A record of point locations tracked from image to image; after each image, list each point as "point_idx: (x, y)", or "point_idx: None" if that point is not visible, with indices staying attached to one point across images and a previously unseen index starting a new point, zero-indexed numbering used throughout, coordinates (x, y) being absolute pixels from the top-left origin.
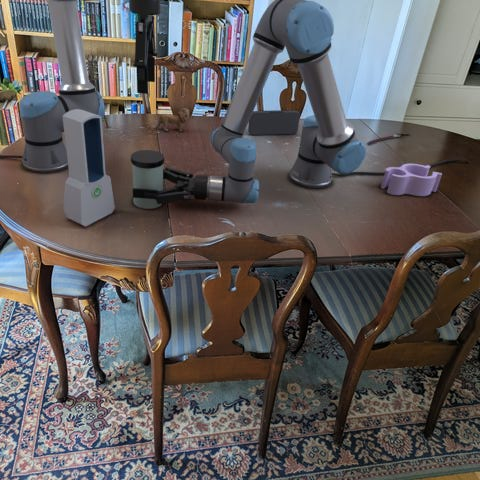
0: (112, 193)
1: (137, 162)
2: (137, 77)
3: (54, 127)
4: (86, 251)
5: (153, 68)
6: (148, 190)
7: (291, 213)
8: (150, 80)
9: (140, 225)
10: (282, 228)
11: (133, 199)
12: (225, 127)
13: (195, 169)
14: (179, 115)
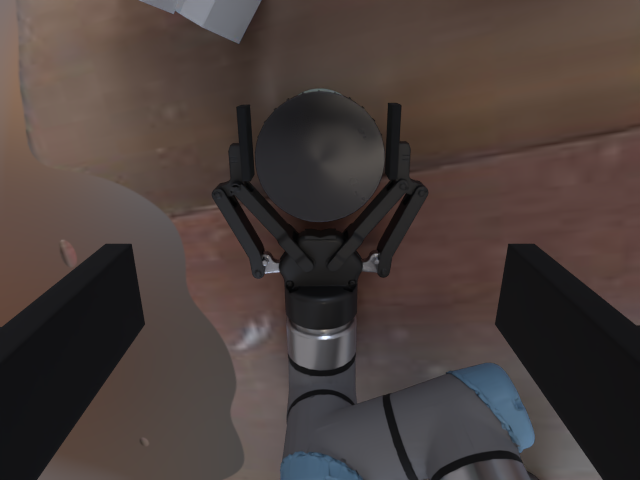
0: (222, 36)
1: (261, 129)
2: (24, 320)
3: None
4: (21, 14)
5: (554, 399)
6: (240, 159)
7: None
8: (506, 297)
9: (185, 133)
10: (249, 435)
11: (308, 90)
12: (452, 469)
13: (550, 244)
14: None
